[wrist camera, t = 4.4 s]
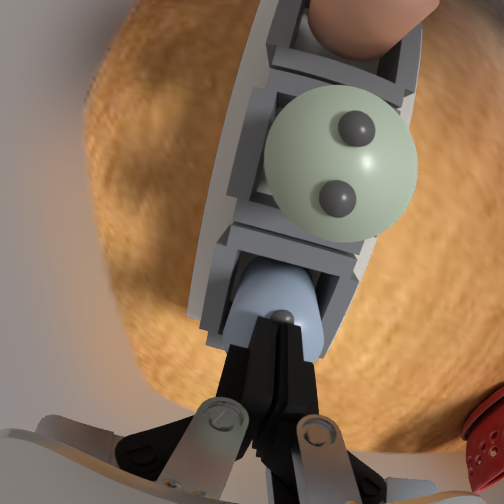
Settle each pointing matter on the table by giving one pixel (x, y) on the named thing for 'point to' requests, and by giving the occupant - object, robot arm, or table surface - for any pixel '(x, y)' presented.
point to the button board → (253, 171)
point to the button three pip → (275, 304)
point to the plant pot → (485, 442)
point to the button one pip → (365, 24)
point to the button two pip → (340, 163)
